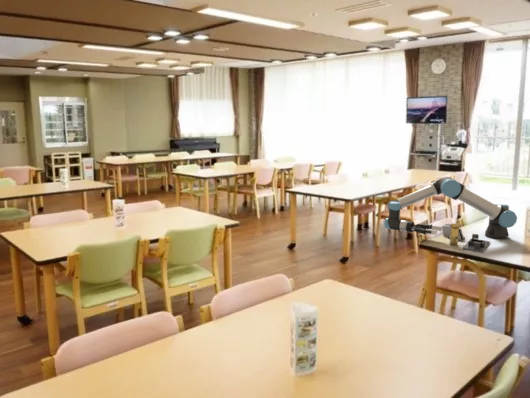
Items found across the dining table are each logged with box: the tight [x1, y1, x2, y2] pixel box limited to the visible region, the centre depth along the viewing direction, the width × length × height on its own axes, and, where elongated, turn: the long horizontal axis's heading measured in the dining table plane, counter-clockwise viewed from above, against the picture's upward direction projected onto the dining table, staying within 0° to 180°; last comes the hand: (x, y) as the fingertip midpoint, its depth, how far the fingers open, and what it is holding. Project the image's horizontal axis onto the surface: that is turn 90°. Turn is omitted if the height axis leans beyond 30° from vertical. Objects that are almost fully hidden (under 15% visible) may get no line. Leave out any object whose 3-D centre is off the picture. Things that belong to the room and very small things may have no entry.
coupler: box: [449, 223, 462, 247], centre depth 317 cm, size 6×6×14 cm
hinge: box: [441, 223, 466, 241], centre depth 339 cm, size 17×5×10 cm, turn 23°
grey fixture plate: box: [462, 233, 491, 253], centre depth 315 cm, size 27×12×5 cm, turn 147°
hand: (439, 230), depth 322 cm, fingers open, 13 cm apart
